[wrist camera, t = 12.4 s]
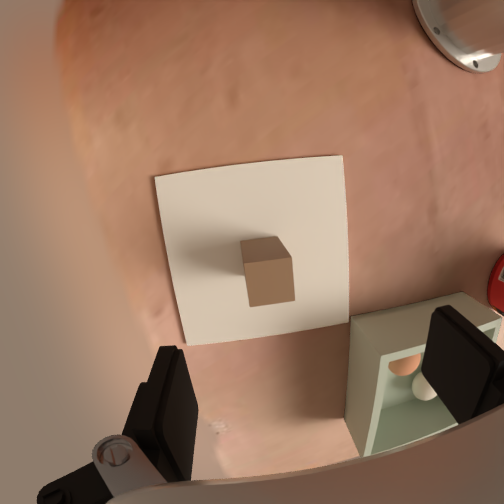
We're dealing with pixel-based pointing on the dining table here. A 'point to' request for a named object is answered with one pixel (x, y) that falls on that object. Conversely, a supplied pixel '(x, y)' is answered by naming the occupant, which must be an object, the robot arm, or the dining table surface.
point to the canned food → (497, 286)
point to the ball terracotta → (405, 365)
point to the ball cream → (422, 388)
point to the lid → (257, 247)
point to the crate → (394, 386)
